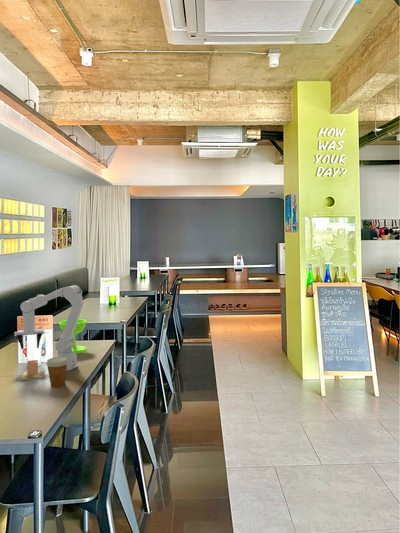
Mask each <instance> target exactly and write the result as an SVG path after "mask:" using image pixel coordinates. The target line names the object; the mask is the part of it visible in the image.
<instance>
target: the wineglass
mask: <svg viewBox="0 0 400 533" xmlns="http://www.w3.org/2000/svg"><path fill="white" fill-rule="evenodd" d="M66 322H67V319H65V320H61V321H59V322H58V324H59V328H60V329H61V331H62V332H63V331H64V328H65V325H66ZM86 326H87V319H83V318H82V319H81V318H78V321H77V324H76V327H75V330H74V333H73V336H74V338H73V346H72V347H71V348H72V351H73V352H75V353H76V354H82V353H85V352H87V351H88V348H87V347H86V346H85V345H84V346H83V345H76V335H78V334H80V333H81V332H83V330H85V327H86Z"/></svg>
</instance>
